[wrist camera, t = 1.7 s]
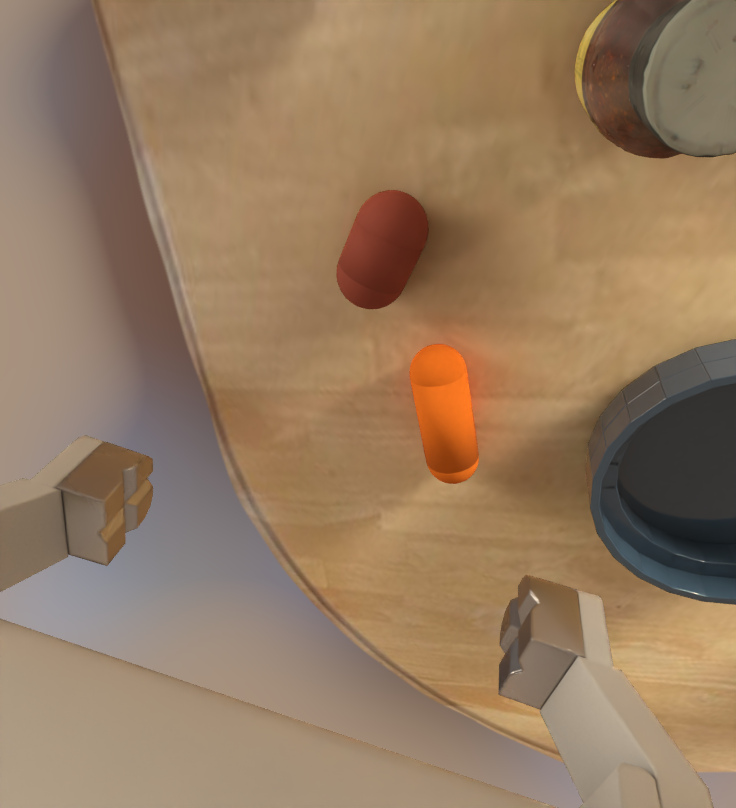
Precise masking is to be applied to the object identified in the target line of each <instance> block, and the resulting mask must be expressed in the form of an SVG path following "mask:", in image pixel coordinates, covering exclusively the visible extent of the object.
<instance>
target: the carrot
mask: <svg viewBox="0 0 736 808" xmlns="http://www.w3.org/2000/svg"><path fill="white" fill-rule="evenodd" d="M410 380H411V386H412V391H413V396H414V401H415V406H416V411H417V416H418V421H419V427H420V432H421V437H422V442H423V447H424V452H425V457H426V462H427V466H428V468H429V470H430V472H431V473H432V474H433V475H434V476H435V477H436V478H437V479H438V480H440V481H442V482H445V483H450V484H456V483H460V482H463V481H465V480H467V479H468V478H470V477H471V476H472V475H473V474H474V472H475V470H476V468H477V465H478V461H479V454H478V447H477V440H476V432H475V425H474V418H473V411H472V404H471V397H470V390H469V382H468V375H467V368H466V364H465V362H464V360H463V358H462V356H461V355H460V354H459V352H457V351H456V350H455V349H454V348H452V347H450V346H447V345H443V344H434V345H430V346H427V347H425V348H423V349H422V350H420V351H419V352H418V353H417V354H416V355H415V357H414V358H413V360H412V363H411V366H410Z"/></svg>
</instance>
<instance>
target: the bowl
mask: <svg viewBox="0 0 736 808" xmlns="http://www.w3.org/2000/svg"><path fill="white" fill-rule="evenodd" d="M586 478H587V486H588V494H589V503H590V509H591V513H592V516H593V520H594V524H595V527H596V531H597V534H598V536H599V537H600V538H601V540H602V541H603V543H604V544H605V546H606V547H607V549H608V550H609V552H610V553H611V554H612V556H613V557H614V558H615V559H616V560H617V561H618V562H620V563H621V564H622V565H623V566H625V567H626V568H627V569H628V570H629V571H631V572H632V573H633V574H634V575H636V576H637V577H638V578H640V579H642V580H644V581H646V582H648V583H650V584H652V585H654V586H656V587H658V588H660V589H663V590H665V591H667V592H669V593H673V594H677V595H680V596H684V597H688V598H691V599H695V600H699V601H704V602H713V603H723V604H734V605H736V339H734V340H729V341H724V342H720V343H715V344H711V345H706V346H701V347H697V348H695V349H692V350H689V351H687V352H685V353H682V354H680V355H678V356H676V357H673V358H671V359H669V360H666V361H664V362H662V363H660V364H657V365H656V366H654V367H652V368H651V369H649V370H648V371H647V372H645V373H644V374H643V375H641V376H640V377H638V378H637V379H636V380H634V381H633V382H632V383H630V384H629V385H627V386H626V387H625V388H624V389H623V390H621V392H620V393H619V394H618V395H617V396H616V398H615V399H614V400H613V401H612V402H611V403H610V405H609V406H608V407H607V408H606V409H605V411H604V412H603V413H602V414H601V416H600V417H599V419H598V422H597V424H596V426H595V429H594V431H593V433H592V435H591V438H590V440H589V442H588V449H587V460H586Z"/></svg>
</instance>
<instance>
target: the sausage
mask: <svg viewBox="0 0 736 808" xmlns="http://www.w3.org/2000/svg"><path fill="white" fill-rule="evenodd" d="M428 231H429V227H428V220H427V216H426V213H425V211H424V209H423V207H422V206H421V204H420V203H419V202H418V201H417V200H416V199H415V198H414V197H412V196H411V195H409V194H407V193H404V192H401V191H397V190H387V191H383V192H379V193H377V194H375V195H373V196H372V197H370V198H369V199H368V200H367V201H366V202H365V203H364V204H363V205H362V207H361V208H360V210H359V212H358V214H357V216H356V219H355V221H354V224H353V226H352V229H351V231H350V234H349V236H348V239H347V241H346V244H345V246H344V249H343V251H342V254H341V256H340V258H339V262H338V265H337V282H338V285H339V287H340V290H341V292H342V293H343V295H344V296H345V297H346V298H347V299H348V300H349V301H350V302H351V303H353V304H354V305H356V306H358V307H361V308H365V309H379V308H382V307H385V306H387V305H389V304H391V303H392V302H394V301H395V300H396V299H397V298H398V297H399V295H400V294H401V292H402V291H403V289H404V287H405V285H406V283H407V281H408V279H409V277H410V275H411V273H412V271H413V269H414V267H415V265H416V263H417V261H418V259H419V256H420V254H421V252H422V250H423V248H424V246H425V244H426V241H427V237H428Z"/></svg>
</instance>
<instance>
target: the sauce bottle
mask: <svg viewBox="0 0 736 808" xmlns="http://www.w3.org/2000/svg"><path fill="white" fill-rule="evenodd" d="M575 85H576V90H577V94H578V97H579V99H580V102H581V104H582V105H583V107H584V109H585V111H586V112H587V114H588V116H589V118H590V119H591V121H592V122H593V123H594V124H595V126H596V127H597V129H598V130H599V132H600V133H601V134H602V135H603V136H604V137H606V138H607V139H608V140H609V141H611V142H612V143H614V144H615V145H616V146H618V147H621V148H622V149H623V150H625V151H627V152H630V153H632V154H634V155H638V156H643V157H649V158H669V157H673V156H675V155H678V154H686V155H690V156H695V157H716V156H721V155H730V154H734V153H736V0H615V1H614V2H613V3H611V4H610V5H609V6H608V7H606V8H605V9H604V10H603V11H602V12H601V13H600V14H599V15H598V16H597V17H596V18H595V20H594V21H593V22H592V24H591V25H590V26H589V28H588V29H587V30H586V32H585V35H584V37H583V39H582V41H581V44H580V47H579V50H578V53H577V57H576V63H575Z"/></svg>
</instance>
